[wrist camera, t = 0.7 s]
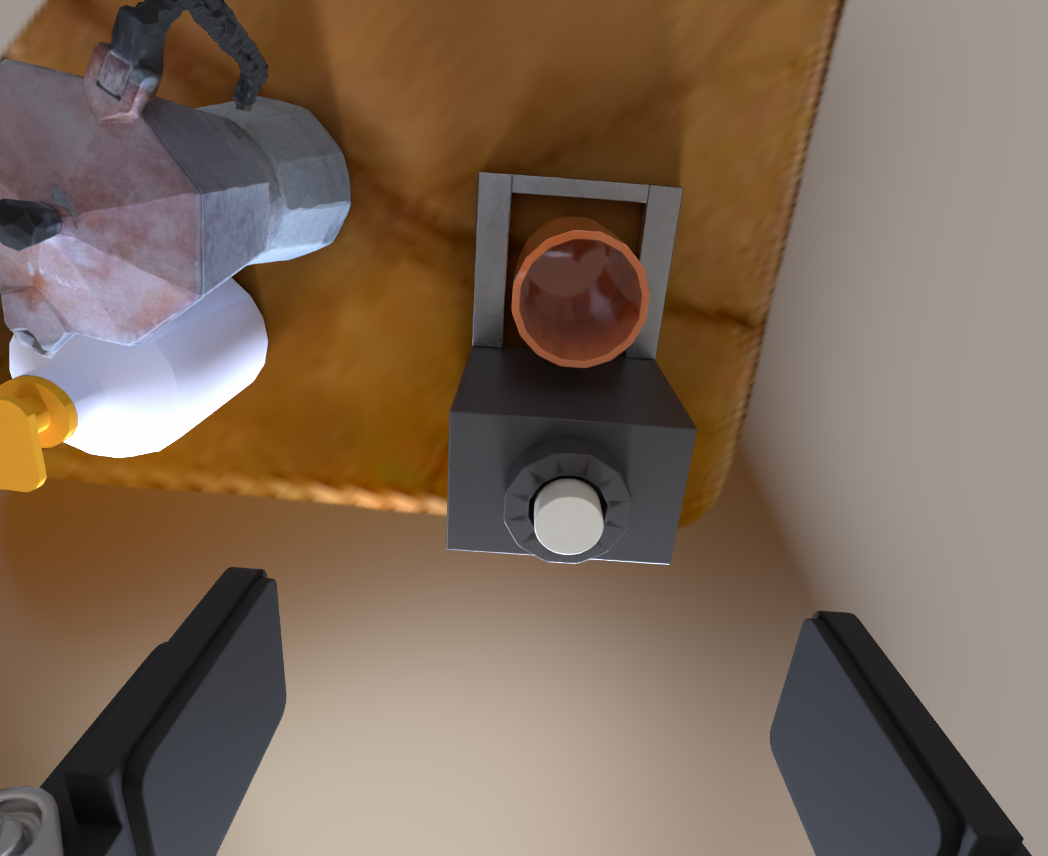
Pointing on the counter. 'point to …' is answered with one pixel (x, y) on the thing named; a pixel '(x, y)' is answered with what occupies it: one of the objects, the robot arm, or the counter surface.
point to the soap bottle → (128, 386)
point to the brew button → (568, 516)
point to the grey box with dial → (566, 453)
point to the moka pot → (150, 184)
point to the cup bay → (500, 186)
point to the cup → (578, 293)
